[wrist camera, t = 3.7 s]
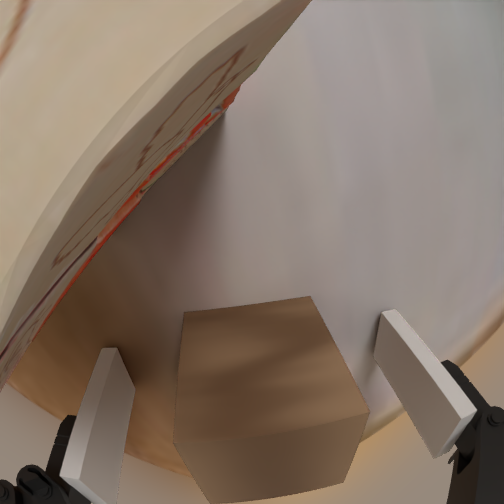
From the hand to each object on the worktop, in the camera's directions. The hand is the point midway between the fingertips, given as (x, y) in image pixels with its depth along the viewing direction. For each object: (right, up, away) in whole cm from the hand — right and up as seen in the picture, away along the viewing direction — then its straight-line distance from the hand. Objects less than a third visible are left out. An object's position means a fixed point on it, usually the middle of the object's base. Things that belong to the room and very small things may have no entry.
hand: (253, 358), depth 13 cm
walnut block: (0, 0, 0) cm, 0 cm away
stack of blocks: (-10, +14, -7) cm, 19 cm away
